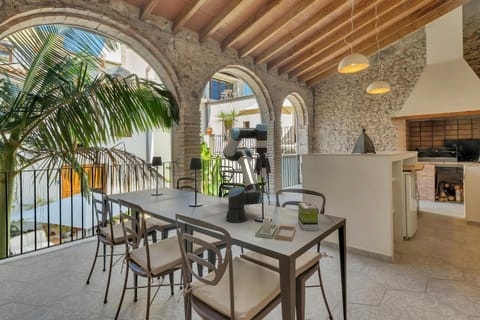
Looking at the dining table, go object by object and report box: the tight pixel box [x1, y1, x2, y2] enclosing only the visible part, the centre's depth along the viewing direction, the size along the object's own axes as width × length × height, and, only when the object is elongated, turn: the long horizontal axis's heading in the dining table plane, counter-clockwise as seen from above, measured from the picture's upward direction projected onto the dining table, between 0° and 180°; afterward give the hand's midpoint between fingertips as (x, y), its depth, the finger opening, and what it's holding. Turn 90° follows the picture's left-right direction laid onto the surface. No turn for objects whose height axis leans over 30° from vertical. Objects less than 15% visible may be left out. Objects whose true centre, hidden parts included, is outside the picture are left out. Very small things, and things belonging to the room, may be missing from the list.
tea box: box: [297, 201, 319, 231], centre depth 163 cm, size 15×10×15 cm
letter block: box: [262, 218, 272, 234], centre depth 153 cm, size 4×4×8 cm
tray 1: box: [254, 223, 279, 240], centre depth 153 cm, size 10×18×2 cm, turn 160°
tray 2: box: [273, 224, 297, 242], centre depth 149 cm, size 10×18×2 cm, turn 160°
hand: (261, 178), depth 165 cm, fingers open, 13 cm apart
